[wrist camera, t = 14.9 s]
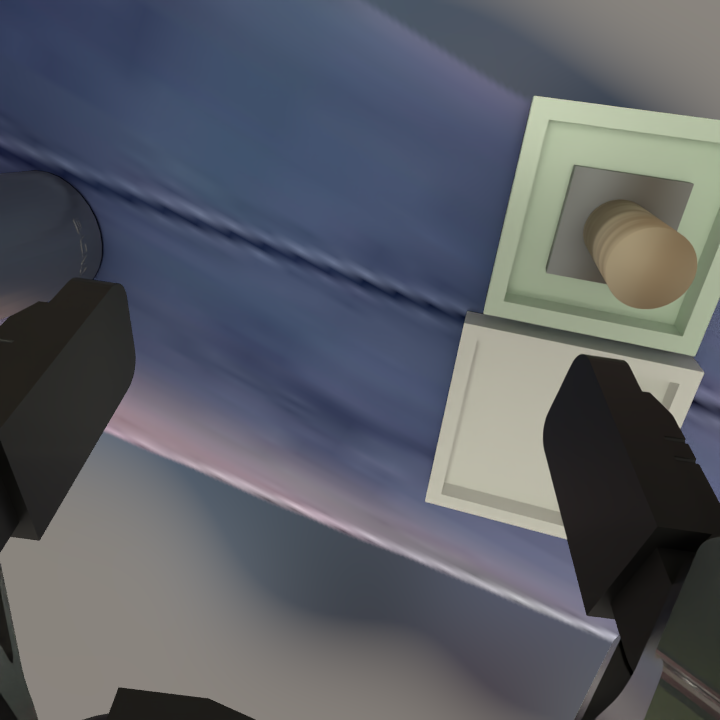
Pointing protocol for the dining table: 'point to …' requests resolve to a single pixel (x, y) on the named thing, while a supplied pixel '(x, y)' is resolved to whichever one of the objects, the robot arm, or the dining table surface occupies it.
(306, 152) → the dining table surface
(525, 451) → the cream square tray
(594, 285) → the tray
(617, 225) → the ball
